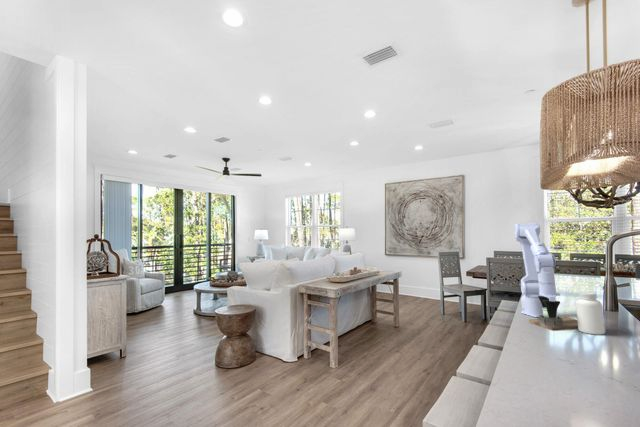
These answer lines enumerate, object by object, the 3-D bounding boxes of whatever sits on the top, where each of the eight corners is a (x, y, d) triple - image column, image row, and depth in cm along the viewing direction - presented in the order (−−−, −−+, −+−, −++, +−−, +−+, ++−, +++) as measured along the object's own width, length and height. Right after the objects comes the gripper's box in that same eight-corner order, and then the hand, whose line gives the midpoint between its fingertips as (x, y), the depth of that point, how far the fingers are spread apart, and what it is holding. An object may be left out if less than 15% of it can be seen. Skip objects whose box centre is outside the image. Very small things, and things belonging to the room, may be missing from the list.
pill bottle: (594, 328, 125) (590, 290, 126) (611, 335, 117) (606, 294, 118) (573, 329, 125) (569, 291, 126) (588, 335, 117) (584, 295, 119)
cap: (544, 319, 129) (543, 309, 129) (542, 316, 134) (541, 307, 134) (559, 320, 127) (558, 310, 127) (556, 317, 131) (555, 307, 132)
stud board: (529, 322, 137) (528, 314, 137) (566, 319, 138) (565, 311, 139) (552, 330, 125) (551, 321, 125) (592, 327, 127) (591, 318, 127)
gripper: (563, 285, 123) (567, 320, 122) (553, 280, 136) (556, 312, 135) (542, 285, 126) (545, 319, 125) (534, 280, 139) (537, 311, 138)
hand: (550, 315), depth 130 cm, fingers open, 7 cm apart
